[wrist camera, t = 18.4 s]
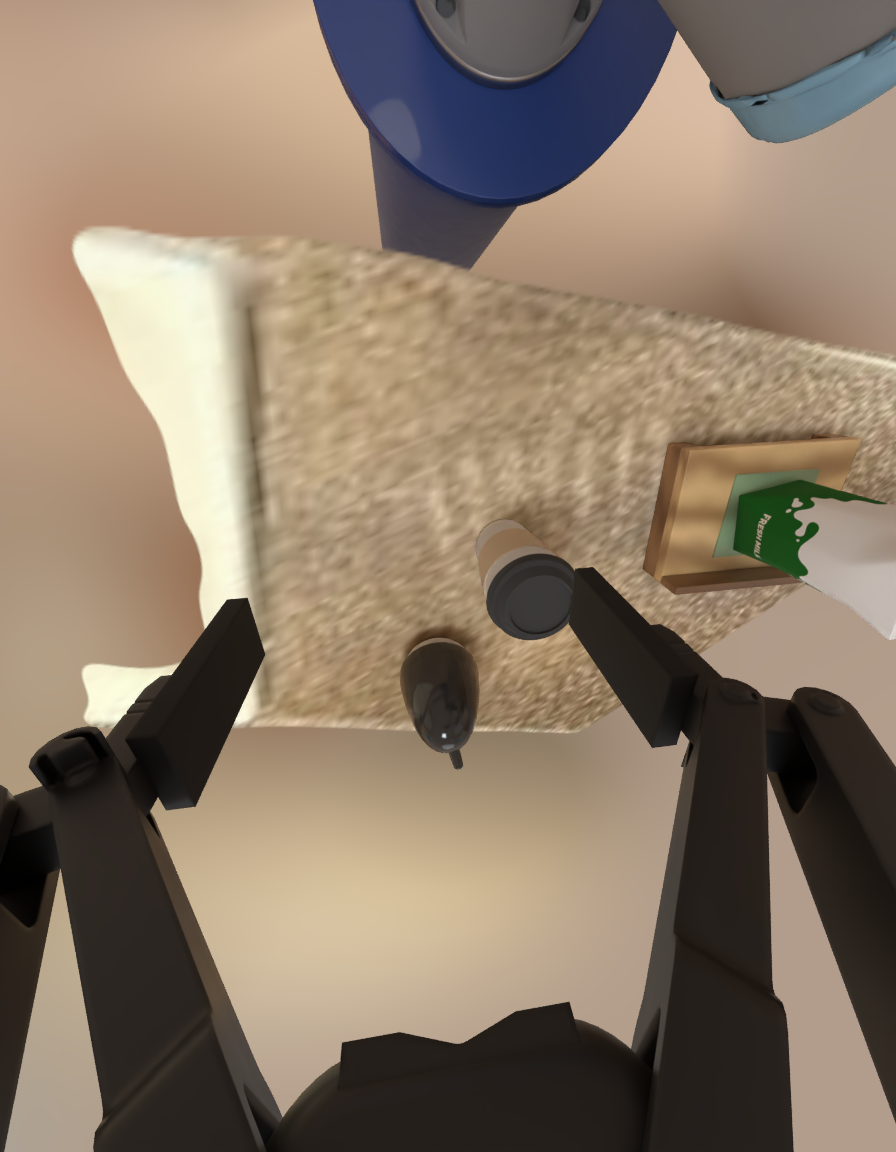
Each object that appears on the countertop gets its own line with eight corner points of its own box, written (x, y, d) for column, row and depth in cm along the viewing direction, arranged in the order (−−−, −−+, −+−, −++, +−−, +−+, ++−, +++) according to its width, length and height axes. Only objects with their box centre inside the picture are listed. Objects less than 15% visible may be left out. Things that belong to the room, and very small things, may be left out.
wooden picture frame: (668, 443, 46) (710, 455, 40) (828, 433, 48) (892, 443, 42) (642, 568, 53) (674, 595, 47) (782, 556, 55) (830, 580, 49)
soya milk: (795, 539, 49) (1020, 636, 31) (723, 558, 49) (906, 665, 31) (809, 468, 45) (1077, 534, 27) (730, 489, 45) (946, 568, 27)
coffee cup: (478, 588, 52) (506, 663, 39) (456, 526, 48) (479, 586, 34) (545, 564, 51) (597, 632, 38) (529, 499, 47) (580, 550, 34)
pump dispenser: (412, 693, 59) (416, 789, 45) (390, 637, 54) (388, 726, 40) (479, 674, 59) (504, 765, 45) (463, 617, 54) (486, 699, 40)
